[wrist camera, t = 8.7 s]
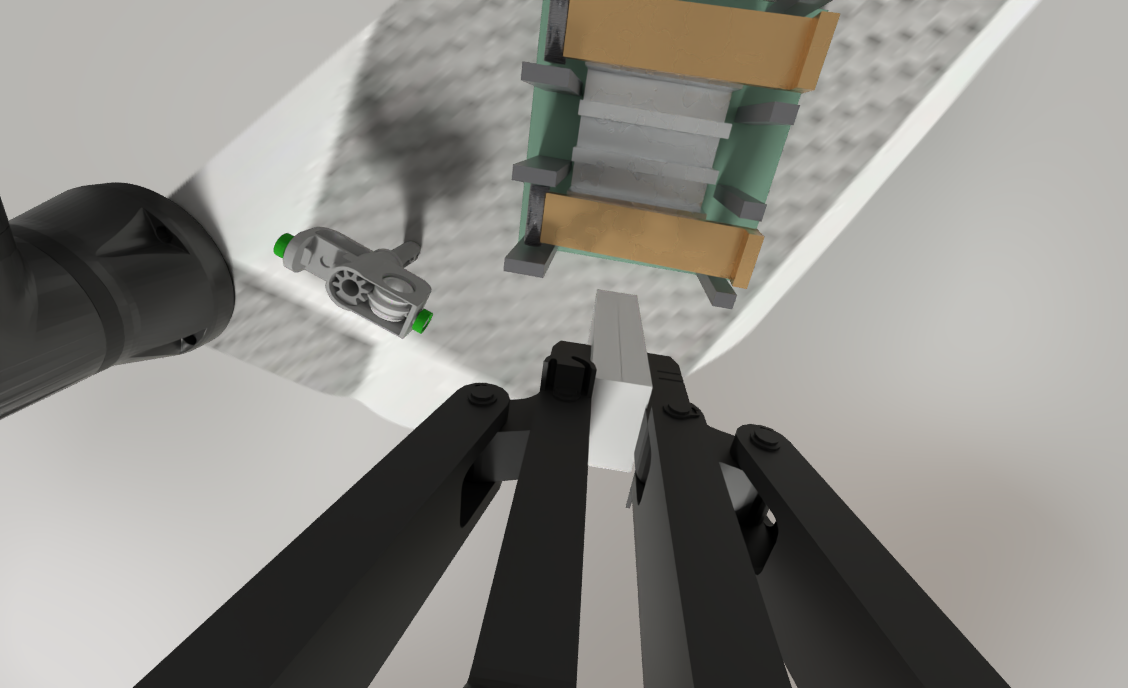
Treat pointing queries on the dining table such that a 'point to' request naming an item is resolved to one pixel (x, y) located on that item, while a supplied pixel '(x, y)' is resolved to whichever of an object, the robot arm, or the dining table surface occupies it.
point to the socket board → (737, 158)
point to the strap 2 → (642, 235)
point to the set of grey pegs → (741, 204)
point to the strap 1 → (693, 40)
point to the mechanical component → (362, 277)
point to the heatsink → (649, 138)
